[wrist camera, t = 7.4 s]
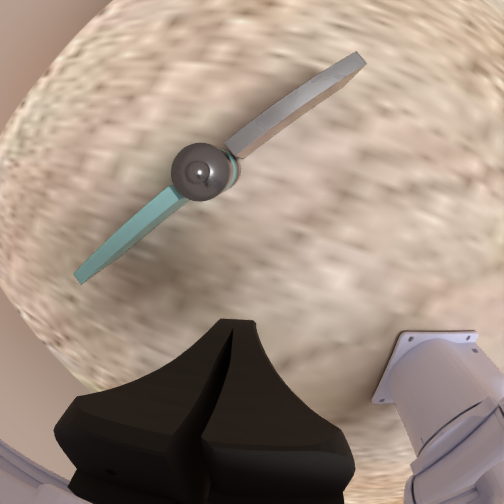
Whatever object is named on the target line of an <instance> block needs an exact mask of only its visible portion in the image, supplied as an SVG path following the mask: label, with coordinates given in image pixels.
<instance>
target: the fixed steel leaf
mask: <svg viewBox="0 0 504 504" xmlns="http://www.w3.org/2000/svg"><path fill="white" fill-rule="evenodd" d="M366 64H367V63H366V62H365V60H364V59H363V58H362V57H361V56H360V55H359V54H358V52H357V51H356V52H354V53H352V54H351V55H349V56H347V57H345V58H344V59H342V60H340V61H339V62H337V63H335V64H334V65H332V66H331V67H329V68H327V69H326V70H324V71H323V72H321V73H319V74H318V75H316V76H315V77H313V78H312V79H310V80H309V81H307V82H306V83H304V84H303V85H301V86H300V87H298V88H297V89H295V90H294V91H292V92H291V93H289V94H288V95H286V96H285V97H284V98H282V99H281V100H279V101H278V102H277V103H275V104H274V105H272V106H271V107H270V108H268V109H267V110H266V111H264V112H263V113H261V114H260V115H259V116H257V117H256V118H255V119H253V120H252V121H251V122H249V123H248V124H247V125H246V126H244V127H243V128H242V129H240V130H239V131H238V132H237V133H235V134H234V135H233V136H232V137H230V138H229V139H228V140H227V141H225V142H224V144H225V145H226V146H227V147H228V148H229V150H230V151H231V152H232V153H233V154H232V153H231V152H229V151H227V152H229V153H230V154H231V155H232V156H233V157H234V159H235V161H236V163H237V168H238V172H237V177H236V180H235V182H234V183H233V185H235V183H236V182H237V181H238V179H239V177H240V173H241V167H240V163H239V161H238V159H237V157H240V158H243V159H244V158H246V157H247V156H248V155H249V154H251V153H252V152H253V151H255V150H256V149H257V148H258V147H260V146H261V145H262V144H264V143H265V142H266V141H268V140H269V139H270V138H272V137H273V136H274V135H276V134H277V133H278V132H280V131H281V130H282V129H284V128H285V127H286V126H288V125H289V124H291V123H292V122H293V121H295V120H296V119H297V118H299V117H300V116H302V115H303V114H304V113H306V112H307V111H309V110H310V109H312V108H313V107H315V106H316V105H317V104H319V103H320V102H322V101H323V100H325V99H326V98H328V97H329V96H331V95H332V94H334V93H335V92H337V91H338V90H340V89H341V88H343V87H344V86H345V85H346V84H347V83H348V82H349V81H350V80H351V79H352V78H353V77H354V76H355V75H356V74H357V73H358V72H359V71H360V70H361V69H362V68H363V67H364V66H365V65H366ZM171 177H172V181H173V184H174V186H175V188H176V189H177V191H178V192H179V193H180V194H181V195H182V196H184V197H185V198H187V199H189V200H192V201H206V200H210V199H212V198H214V197H216V196H217V195H219V194H221V193H222V192H223V191H225V190H226V189H227V187H228V186H229V185H230V183H231V181H232V178H233V164H232V161H231V159H230V157H229V156H228V154H227V153H226V152H224V151H223V150H222V149H220V148H218V147H215V146H213V145H210V144H206V143H195V144H191V145H189V146H187V147H185V148H184V149H182V150H181V151H180V152H179V153H178V154H177V156H176V157H175V159H174V161H173V164H172V169H171ZM233 185H232V186H233ZM232 186H231V187H232ZM231 187H230V188H231Z"/></svg>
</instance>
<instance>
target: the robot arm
mask: <svg viewBox="0 0 504 504" xmlns="http://www.w3.org/2000/svg"><path fill="white" fill-rule="evenodd" d="M410 337H411V338H410ZM409 338H410V339H409ZM477 338H478V333H477V332H476V331H468V332H403V333H402V334H401V335H400V337H399V339H398V341H397V344H396V346H395V349H394V351H393V354H392V356H391V359H390V361H389V363H388V365H387V368H386V370H385V372H384V374H383V377H382V379H381V381H380V383H379V385H378V387H377V389H376V391H375V393H374V395H373V397H372V402H373V404H385V403H395V406H396V408H397V410H398V412H399V415H400V417H401V420H402V422H403V424H404V427H405V429H406V431H407V434H408V436H409V439H410V441H411V444H412V446H413V449H414V451H415V454H416V456H417V459H416V460H415V461H413V462H412V463H411V464H410V466H411V469H412V472H413V475H412V476H410V477H409V479H408V480H407V482H406V484H405V489H404V497H403V500H404V504H504V374H503V373H502V372H501V371H500V370H499V368H498V367H497V366H496V365H495V364H494V363H493V362H492V360H491V359H490V358H489V357H488V356H487V355H486V354H485V353H484V352H483V350H482V349H481V348H480V347H479V346H478V345H477V344H476V343H475V342H476V340H477ZM54 434H55V438H56V440H57V442H58V444H59V446H60V447H61V448H62V450H63V451H64V453H65V454H66V455H67V457H68V458H69V459H70V461H71V462H72V463H73V464H74V466H75V467H76V468H77V470H76V472H75V474H74V476H73V477H72V479H71V481H69V480H67V479H65V478H63V477H61V476H59V475H57V474H56V473H54V472H52V471H50V470H48V469H46V468H44V467H43V466H41V465H39V464H37V463H36V462H34V461H32V460H31V459H29V458H27V457H26V456H24V455H23V454H21V453H20V452H18V451H17V450H15V449H14V448H12V447H10V446H9V445H8V444H6V443H5V442H3V441H2V440H1V439H0V504H344V497H343V491H344V490H345V488H346V487H347V485H348V483H349V482H350V480H351V479H352V477H353V475H354V472H355V463H354V458H353V455H352V453H351V450H350V447H349V445H348V443H347V440H346V438H345V436H344V434H343V432H342V430H341V429H339V428H338V427H336V426H334V425H333V424H331V423H330V422H328V421H327V420H325V419H324V418H322V417H321V416H319V415H318V414H316V413H315V412H314V411H313V410H311V409H310V408H309V407H308V406H307V405H306V404H305V403H304V402H303V401H302V400H301V399H299V398H298V397H297V396H296V395H295V394H294V393H293V392H292V391H291V389H290V388H289V387H288V386H287V385H286V384H285V382H284V381H283V380H282V378H281V377H280V376H279V374H278V373H277V372H276V370H275V369H274V367H273V365H272V364H271V362H270V360H269V359H268V357H267V355H266V353H265V351H264V349H263V346H262V344H261V342H260V339H259V336H258V333H257V329H256V323H255V322H254V321H253V320H236V319H220V320H219V321H217V322H216V323H215V324H214V326H213V327H212V328H211V329H210V330H209V331H208V332H207V333H205V334H204V335H203V336H202V337H201V338H200V339H199V340H198V341H197V342H196V343H195V344H194V345H192V346H191V347H190V348H189V349H187V350H186V351H185V352H184V353H182V354H181V355H180V356H179V357H177V358H176V359H174V360H173V361H171V362H170V363H168V364H166V365H165V366H163V367H161V368H160V369H158V370H156V371H154V372H152V373H150V374H148V375H146V376H144V377H142V378H139V379H137V380H135V381H133V382H130V383H127V384H125V385H122V386H119V387H116V388H113V389H109V390H106V391H101V392H97V393H92V394H88V395H83V396H77V397H76V398H75V399H74V401H73V402H72V403H71V404H70V406H69V407H68V409H67V410H66V411H65V413H64V414H63V416H62V417H61V418H60V420H59V421H58V422H57V424H56V425H55V428H54Z"/></svg>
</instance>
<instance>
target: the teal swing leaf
mask: <svg viewBox="0 0 504 504" xmlns="http://www.w3.org/2000/svg"><path fill="white" fill-rule="evenodd" d="M220 149H221V148H220ZM222 150H223V151H224V152H226V153H227V154H228V156H229V157H230V159H231V161H232V164H233V178H232V181H231V183H230V185H229V186H228V187H227V189H229V188H230V187H231V186H232V185H233V183H234V182H235V180H236V177H237V172H238V168H237V163H236V161H235V159H234V157H233V156H232V155H231V154H230V153H229V152H227V151H226V150H224V149H222ZM227 189H226V190H227ZM226 190H225V191H226ZM223 192H224V191H223ZM188 201H189V199H187V198H185V197H184V196H182V195H181V194H180V193H179V192H178V191H177V189H176V188H175V186H174V185H172V186H168V187H167V188H166V189H165V190H164V191H162V192H161V193H160V194H159V195H157V196H156V197H155V198H154V199H153V200H152V201H150V202H149V203H148V204H147V205H146V206H145V207H143V208H142V209H141V210H140V211H139V212H138V213H136V214H135V215H134V216H133V217H132V218H131V219H130V220H129V221H127V222H126V223H125V224H124V225H123V226H122V227H121V228H120V229H119V230H118V231H117V232H115V233H114V234H113V235H112V236H111V237H110V238H109V239H108V240H107V241H106V242H105V243H104V244H103V245H102V246H101V247H100V248H99V249H98V250H97V251H96V252H94V253H93V254H92V255H91V256H90V257H89V258H88V259H87V260H86V261H85V262H84V263H83V264H82V265H81V267H80V268H79V269H78V270H77V271H76V272H75V273H74V276H75V277H76V278H77V280H78V281H79V283H80V284H81V285H82V284H83V283H84V282H86V281H87V280H88V279H90V278H91V277H93V276H94V275H95V274H97V273H98V272H100V271H101V270H102V269H104V268H105V267H107V266H108V265H109V264H111V263H112V262H114V261H115V260H117V259H118V258H119V257H120V256H122V255H123V254H124V253H125V252H126V251H127V250H129V249H130V248H131V247H132V246H133V245H134V244H136V243H137V242H138V241H139V240H140V239H142V238H143V237H144V236H145V235H146V234H148V233H149V232H150V231H151V230H152V229H154V228H155V227H156V226H157V225H159V224H160V223H161V222H162V221H163V220H165V219H166V218H167V217H169V216H170V215H171V214H172V213H174V212H175V211H176V210H177V209H179V208H180V207H181V206H183V205H184V204H185V203H186V202H188Z"/></svg>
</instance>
